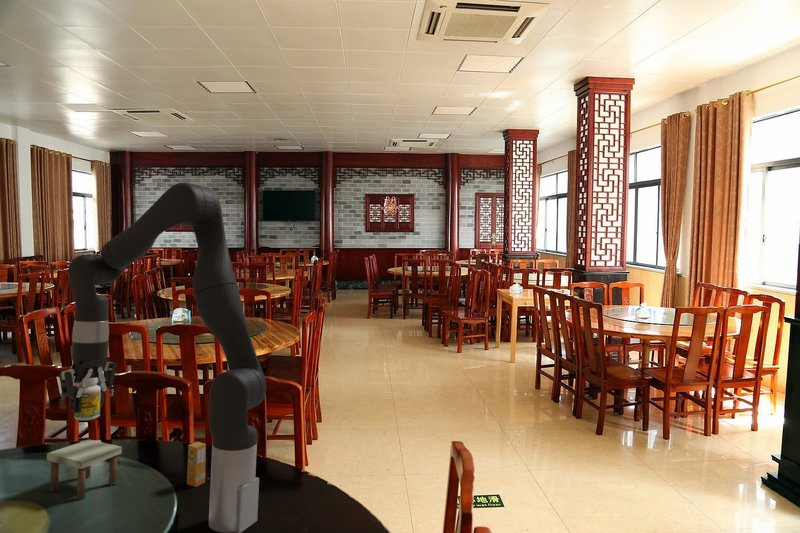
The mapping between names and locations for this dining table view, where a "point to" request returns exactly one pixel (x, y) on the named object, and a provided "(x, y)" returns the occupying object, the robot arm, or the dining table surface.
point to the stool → (83, 462)
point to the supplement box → (196, 464)
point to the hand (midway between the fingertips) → (87, 409)
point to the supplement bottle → (90, 401)
